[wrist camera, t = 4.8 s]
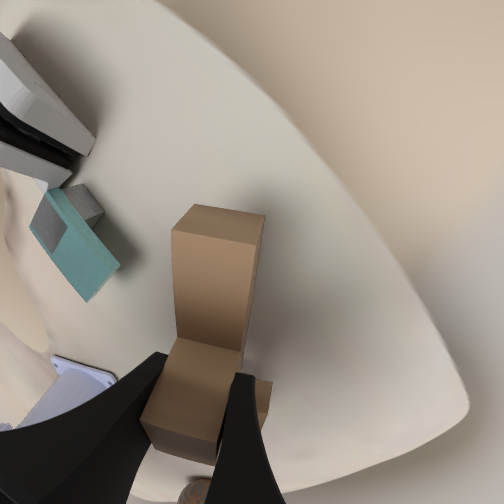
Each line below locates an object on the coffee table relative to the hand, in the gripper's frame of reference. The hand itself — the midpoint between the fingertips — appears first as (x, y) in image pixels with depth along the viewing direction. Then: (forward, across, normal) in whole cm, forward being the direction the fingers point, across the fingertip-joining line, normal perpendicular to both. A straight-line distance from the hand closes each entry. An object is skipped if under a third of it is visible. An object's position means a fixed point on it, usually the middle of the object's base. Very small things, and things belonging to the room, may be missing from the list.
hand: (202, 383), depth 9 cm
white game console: (+8, +17, -11) cm, 22 cm away
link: (+3, 0, +1) cm, 3 cm away
